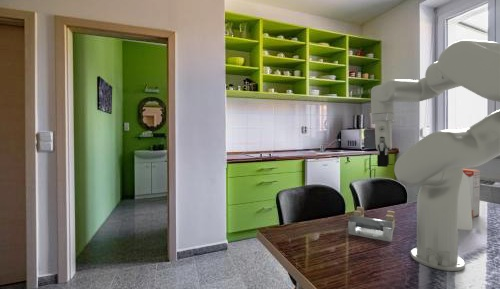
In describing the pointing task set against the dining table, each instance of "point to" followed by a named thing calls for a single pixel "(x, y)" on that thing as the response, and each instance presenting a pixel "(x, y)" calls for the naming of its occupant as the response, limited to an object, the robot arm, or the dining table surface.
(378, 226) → the steel axle
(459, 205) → the milk
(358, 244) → the dining table surface
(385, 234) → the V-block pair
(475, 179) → the cracker box
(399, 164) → the robot arm
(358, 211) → the bearing cradle
